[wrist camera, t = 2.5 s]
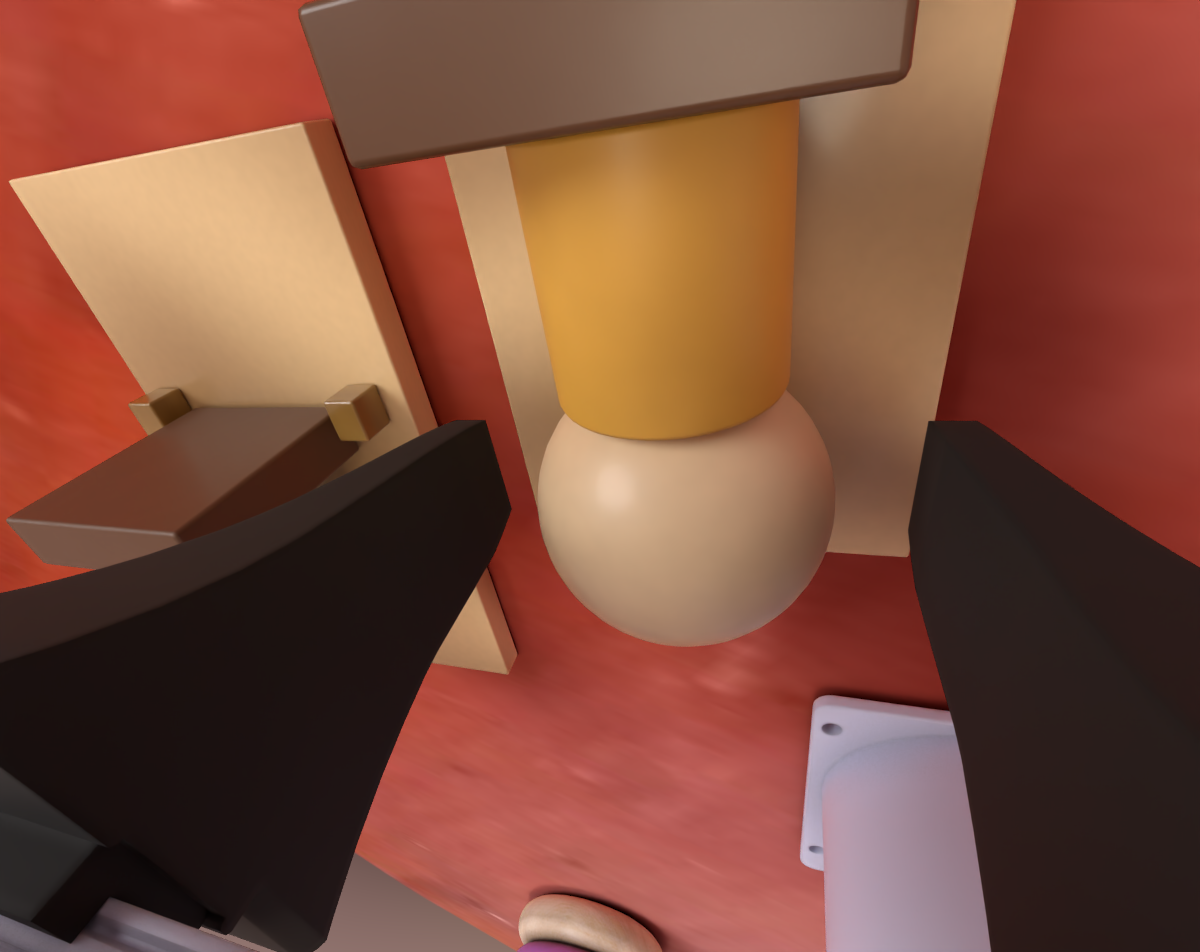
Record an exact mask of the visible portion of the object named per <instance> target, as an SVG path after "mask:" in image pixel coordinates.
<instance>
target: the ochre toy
mask: <svg viewBox="0 0 1200 952" xmlns="http://www.w3.org/2000/svg"><path fill="white" fill-rule="evenodd" d="M918 8H919V0H314V1H311V2H307V3H305V4H304V5H303V6H302V7H301V8H300V9H298V12H299V19H300V22H301V25H302V28H303V31H304V34H305V37H306V39H307V42H308V45H309V48H310V51H311V54H312V57H313V60H314V62H315V65H316V68H317V71H318V74H319V77H320V80H321V83H322V85H323V88H324V91H325V94H326V97H327V100H328V103H329V106H330V108H331V111H332V114H333V117H334V120H335V123H336V126H337V129H338V132H339V134H340V137H341V140H342V143H343V146H344V149H345V152H346V155H347V157H348V160H349V162H350V163H351V165H352V166H353V167H356V168H359V169H366V168H372V167H379V166H385V165H391V164H397V163H403V162H410V161H416V160H422V159H428V158H435V157H441V156H447V155H453V154H460V153H466V152H472V151H478V150H485V149H491V148H497V147H503V146H506V147H505V148H506V153H507V157H508V162H509V167H510V172H511V176H512V181H513V186H514V190H515V195H516V200H517V205H518V209H519V214H520V219H521V224H522V228H523V233H524V238H525V243H526V247H527V252H528V257H529V261H530V266H531V271H532V276H533V280H534V285H535V290H536V295H537V299H538V304H539V309H540V313H541V318H542V323H543V328H544V332H545V337H546V342H547V347H548V351H549V356H550V361H551V365H552V370H553V375H554V380H555V384H556V389H557V394H558V399H559V402H560V406H561V407H562V409H563V411H564V412H565V414H564V415H563V417H562V418H561V419H560V421H559V423H558V425H557V427H556V429H555V430H554V432H553V434H552V437H551V439H550V441H549V443H548V445H547V448H546V451H545V454H544V458H543V461H542V465H541V469H540V474H539V482H538V496H537V499H538V515H539V521H540V527H541V532H542V537H543V540H544V543H545V545H546V548H547V551H548V554H549V556H550V559H551V561H552V563H553V565H554V567H555V569H556V571H557V572H558V574H559V575H560V577H561V578H562V580H563V581H564V583H565V584H566V586H567V587H568V588H569V590H570V591H571V592H572V593H573V595H574V596H575V597H576V598H577V599H578V600H579V601H580V602H581V603H582V604H583V605H584V606H585V607H586V608H587V609H589V610H590V611H591V612H592V613H594V614H595V615H596V616H597V617H599V618H600V619H601V620H603V621H604V622H606V623H607V624H609V625H610V626H612V627H614V628H616V629H618V630H619V631H621V632H623V633H626V634H628V635H630V636H633V637H635V638H638V639H641V640H644V641H648V642H652V643H656V644H662V645H668V646H680V647H688V646H704V645H713V644H718V643H723V642H727V641H730V640H733V639H736V638H739V637H741V636H744V635H746V634H748V633H751V632H753V631H755V630H757V629H759V628H761V627H762V626H764V625H766V624H767V623H769V622H770V621H772V620H773V619H774V618H776V617H777V616H779V615H780V614H781V613H782V612H784V611H785V610H786V609H787V608H788V607H789V606H791V605H792V603H793V602H794V601H795V600H796V599H797V598H798V596H799V595H800V594H801V593H802V592H803V591H804V589H805V588H806V587H807V586H808V585H809V583H810V582H811V580H812V578H813V577H814V575H815V573H816V572H817V570H818V568H819V566H820V564H821V562H822V560H823V558H824V555H825V553H826V550H827V548H828V545H829V541H830V538H831V534H832V529H833V524H834V518H835V483H834V477H833V471H832V466H831V461H830V458H829V455H828V452H827V449H826V446H825V444H824V442H823V440H822V438H821V436H820V434H819V432H818V430H817V428H816V426H815V424H814V423H813V421H812V419H811V418H810V416H809V415H808V414H807V412H806V411H805V410H804V408H803V407H802V406H801V404H800V403H799V402H798V401H797V400H796V399H795V398H794V397H793V396H792V395H791V394H790V393H789V392H788V391H787V390H786V388H787V386H788V384H789V379H790V365H791V337H792V308H793V279H794V251H795V222H796V193H797V165H798V136H799V107H800V99H803V98H809V97H815V96H822V95H828V94H834V93H840V92H846V91H853V90H859V89H865V88H871V87H878V86H884V85H890V84H896V83H897V82H899V81H901V80H903V79H904V78H906V76H907V74H908V72H909V70H910V68H911V66H912V57H913V49H914V41H915V33H916V25H917V16H918Z"/></svg>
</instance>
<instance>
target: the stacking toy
mask: <svg viewBox="0 0 1200 952" xmlns="http://www.w3.org/2000/svg"><path fill="white" fill-rule="evenodd" d="M519 934H520V937H521V940H522V942H523V944H524V945H523V946H522V947H520V949H519V950H518V951H517V952H662V949H661V947H660V945H659V943H658V942H657V940H656V939H655V938H654V936H653V935H652V934H651V933H650V932H649V931H648V930H647V929H646V928H645V927H643V926H642V925H641V924H639V923H638V922H636V921H635V920H634V919H632V918H630V917H628V916H627V915H625V914H623V913H621V912H619V911H617V910H614V909H612V908H610V907H607V906H604V905H602V904H599V903H596V902H593V901H589V900H586V899H583V898H579V897H574V896H569V895H559V894H549V895H543V896H539V897H537V898H534V899H533V900H531V901H530V902H529V903H528V904H527V905H526V906H525V908H524V909H523V911H522V913H521V916H520V920H519Z"/></svg>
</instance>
